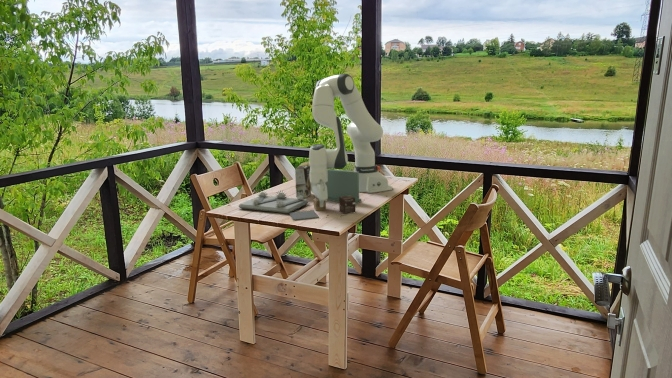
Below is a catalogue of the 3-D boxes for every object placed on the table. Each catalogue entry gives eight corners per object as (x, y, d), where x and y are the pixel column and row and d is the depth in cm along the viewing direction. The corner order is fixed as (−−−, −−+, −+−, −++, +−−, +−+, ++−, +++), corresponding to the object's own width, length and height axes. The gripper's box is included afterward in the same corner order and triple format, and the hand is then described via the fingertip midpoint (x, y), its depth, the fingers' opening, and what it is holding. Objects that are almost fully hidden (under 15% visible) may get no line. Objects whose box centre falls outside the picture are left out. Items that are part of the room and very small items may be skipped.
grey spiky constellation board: (237, 209, 244) (236, 195, 242) (261, 199, 263) (260, 186, 261) (289, 214, 231) (288, 200, 230) (310, 203, 250) (309, 190, 249)
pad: (313, 211, 236) (313, 210, 236) (319, 217, 225) (318, 216, 225) (289, 213, 233) (289, 212, 233) (293, 220, 222) (293, 219, 222)
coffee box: (307, 197, 264) (306, 168, 260) (296, 197, 265) (294, 168, 261) (311, 193, 272) (310, 165, 269) (300, 193, 274) (299, 165, 270)
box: (344, 214, 230) (343, 199, 228) (339, 211, 235) (338, 196, 233) (355, 212, 232) (355, 197, 230) (350, 209, 237) (350, 195, 236)
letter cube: (323, 207, 243) (323, 197, 242) (326, 209, 238) (325, 199, 237) (314, 208, 242) (313, 198, 240) (316, 210, 237) (315, 200, 236)
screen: (319, 199, 258) (318, 170, 255) (325, 196, 263) (324, 168, 260) (356, 203, 248) (355, 173, 244) (361, 201, 253) (360, 170, 249)
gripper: (330, 181, 227) (331, 210, 230) (320, 173, 247) (321, 199, 250) (317, 182, 226) (318, 211, 229) (308, 174, 245) (309, 201, 248)
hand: (319, 205), depth 239 cm, fingers closed on letter cube, 5 cm apart
